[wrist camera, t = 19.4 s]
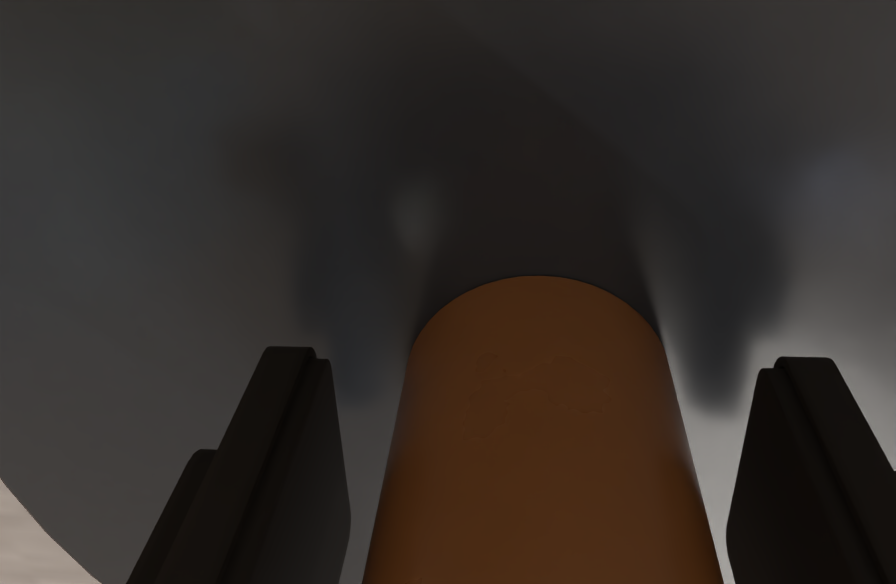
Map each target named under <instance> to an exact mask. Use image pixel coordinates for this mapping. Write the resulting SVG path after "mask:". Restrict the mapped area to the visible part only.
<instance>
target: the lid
mask: <svg viewBox="0 0 896 584" xmlns="http://www.w3.org/2000/svg"><path fill="white" fill-rule="evenodd" d="M269 346H292V347H312V348H313V349H314V350H315V353H316V356H317V359H328V360H329V361H330V363H331V367H332V374H333V382H334V389H335V397H336V404H337V412H338V419H339V427H340V434H341V442H342V449H343V457H344V464H345V472H346V480H347V487H348V495H349V502H350V510H351V529H350V537H349V542H348V547H347V551H346V555H345V559H344V563H343V568H342V572H341V576H340V580H339V584H735V581H734V577H733V573H732V569H731V566H730V562H729V558H728V554H727V547H726V527H727V521H728V516H729V511H730V506H731V501H732V496H733V492H734V487H735V482H736V477H737V472H738V467H739V462H740V458H741V453H742V448H743V443H744V438H745V433H746V428H747V423H748V419H749V414H750V409H751V404H752V399H753V394H754V389H755V385H756V380H757V376H758V373H759V371H760V369H762V368H773V367H774V363H775V362H776V360H777V358H779V357H781V356H785V357H828V358H830V359H832V360H833V361H834V363H835V364H836V366H837V367H838V369H839V371H840V373H841V375H842V377H843V378H844V380H845V382H846V384H847V386H848V388H849V389H850V391H851V393H852V395H853V397H854V399H855V400H856V402H857V404H858V406H859V408H860V409H861V411H862V413H863V415H864V417H865V419H866V420H867V422H868V424H869V426H870V428H871V430H872V431H873V433H874V435H875V437H876V439H877V441H878V442H879V444H880V446H881V448H882V450H883V452H884V453H885V455H886V457H887V459H888V461H889V462H890V464H891V466H892V468H893V470H894V471H896V0H0V478H1V480H2V481H3V483H4V484H5V485H6V487H7V488H8V489H9V490H10V491H11V492H12V494H13V495H14V496H15V497H16V498H17V499H18V501H19V502H20V503H21V504H22V505H23V506H24V508H25V509H26V510H27V511H28V512H29V513H30V515H31V516H32V517H33V518H34V519H35V520H36V522H37V523H38V524H39V525H40V526H41V527H42V529H43V530H44V531H45V532H46V533H47V534H48V535H49V536H50V537H51V538H52V539H53V540H54V541H55V542H56V543H57V544H58V545H60V546H61V547H62V548H63V549H64V550H65V551H66V552H67V553H68V554H69V555H70V556H71V557H72V558H73V559H74V560H75V561H76V562H77V563H79V564H80V565H81V566H82V567H83V568H84V569H85V570H86V571H87V572H88V573H89V574H90V575H91V576H92V577H94V578H95V579H96V580H98V581H99V582H100V583H101V584H126V583H127V581H128V579H129V577H130V575H131V573H132V571H133V569H134V567H135V565H136V563H137V561H138V559H139V557H140V555H141V553H142V551H143V549H144V547H145V545H146V543H147V541H148V539H149V537H150V535H151V533H152V531H153V529H154V527H155V525H156V524H157V522H158V520H159V518H160V516H161V514H162V512H163V510H164V508H165V506H166V504H167V502H168V500H169V498H170V496H171V494H172V492H173V490H174V488H175V486H176V484H177V482H178V480H179V478H180V476H181V474H182V472H183V470H184V468H185V466H186V464H187V463H188V461H189V460H190V458H191V457H192V455H193V454H194V453H195V452H196V451H198V450H199V449H218V447H219V445H220V443H221V441H222V438H223V436H224V434H225V432H226V430H227V428H228V426H229V424H230V422H231V419H232V417H233V415H234V413H235V411H236V409H237V407H238V405H239V402H240V400H241V398H242V396H243V394H244V392H245V390H246V388H247V386H248V383H249V381H250V379H251V377H252V375H253V373H254V371H255V369H256V366H257V364H258V362H259V360H260V358H261V356H262V354H263V352H264V350H265V349H266V347H269Z"/></svg>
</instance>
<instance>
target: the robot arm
mask: <svg viewBox="0 0 896 584" xmlns="http://www.w3.org/2000/svg"><path fill="white" fill-rule="evenodd" d="M350 529H351V510H350V502H349V495H348V487H347V480H346V472H345V464H344V457H343V449H342V442H341V434H340V427H339V419H338V412H337V404H336V397H335V389H334V382H333V374H332V367H331V363H330V361H329V360H328V359H317V356H316V353H315V350H314V349H313V348H312V347H292V346H269V347H266V349H265V350H264V352H263V354H262V356H261V358H260V360H259V362H258V364H257V366H256V369H255V371H254V373H253V375H252V377H251V379H250V381H249V383H248V386H247V388H246V390H245V392H244V394H243V396H242V398H241V400H240V402H239V405H238V407H237V409H236V411H235V413H234V415H233V417H232V419H231V422H230V424H229V426H228V428H227V430H226V432H225V434H224V436H223V438H222V441H221V443H220V445H219V447H218V449H199V450H198V451H196V452H195V453H194V454H193V455H192V457H191V458H190V460H189V461H188V463H187V464H186V466H185V468H184V470H183V472H182V474H181V476H180V478H179V480H178V482H177V484H176V486H175V488H174V490H173V492H172V494H171V496H170V498H169V500H168V502H167V504H166V506H165V508H164V510H163V512H162V514H161V516H160V518H159V520H158V522H157V524H156V525H155V527H154V529H153V531H152V533H151V535H150V537H149V539H148V541H147V543H146V545H145V547H144V549H143V551H142V553H141V555H140V557H139V559H138V561H137V563H136V565H135V567H134V569H133V571H132V573H131V575H130V577H129V579H128V581H127V583H126V584H339V580H340V576H341V572H342V568H343V563H344V559H345V555H346V551H347V547H348V542H349V537H350ZM726 547H727V554H728V558H729V562H730V566H731V569H732V573H733V577H734V581H735V584H896V471H894V470H893V468H892V466H891V464H890V462H889V461H888V459H887V457H886V455H885V453H884V452H883V450H882V448H881V446H880V444H879V442H878V441H877V439H876V437H875V435H874V433H873V431H872V430H871V428H870V426H869V424H868V422H867V420H866V419H865V417H864V415H863V413H862V411H861V409H860V408H859V406H858V404H857V402H856V400H855V399H854V397H853V395H852V393H851V391H850V389H849V388H848V386H847V384H846V382H845V380H844V378H843V377H842V375H841V373H840V371H839V369H838V367H837V366H836V364H835V363H834V361H833V360H832V359H830V358H828V357H785V356H781V357H779V358H777V360H776V362H775V363H774V367H773V368H762V369H760V371H759V373H758V376H757V380H756V385H755V389H754V394H753V399H752V404H751V409H750V414H749V419H748V423H747V428H746V433H745V438H744V443H743V448H742V453H741V458H740V462H739V467H738V472H737V477H736V482H735V487H734V492H733V496H732V501H731V506H730V511H729V516H728V521H727V527H726Z"/></svg>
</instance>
